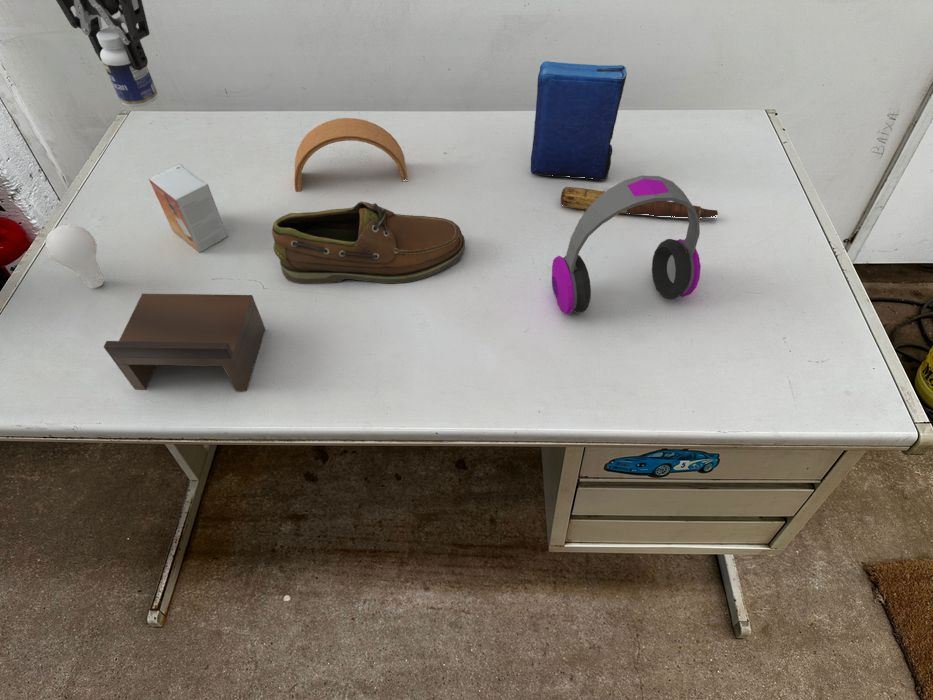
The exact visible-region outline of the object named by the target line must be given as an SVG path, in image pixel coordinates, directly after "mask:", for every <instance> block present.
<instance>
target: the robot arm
mask: <svg viewBox="0 0 933 700" xmlns="http://www.w3.org/2000/svg"><path fill="white" fill-rule="evenodd" d="M55 1H56V4H58V7H60V9H61V11H62V13H63V14H64V16H65V17H66V20H67V21H68V23H69V24H70V26H71V27H72V28H73V29H80V30H81V31H82V33H83V34H84V35H86V36H87V37H88V39H89V41H90V43H91V46H92V48H93V50H94V53H95V54H96V56H97V57H98V59H99V61H100V62H102V60H101V57H100V53H101V50H102V49H103V48H102V47H101V45H100V43H99V41H98V38H97V33H98V32H99V31H100V30H102V29H103V25H102V19H103V21H104V22H105V24H106V25H107V26H108V28H109V27H110V28H112V29H114V30H115V31H116V33H117V34H118V36H119V37H120V39H121V40H122V41H123V43H124V44H123V46H124V48H125V51H126V53H127V55H128V58H129V60H130V62H131V65H132V67H133V69H135V70H141V69H143V68H144V67H146V66H147V67H148V65H149V62H148V57H147V55H146V52H145V49H144V47H143V45H142V42H141V40H142V39H144V38H146V37H148V36H150V33H151V32H150V29H149V25H148V21H147V16H146V12H145V8H144V4H143V0H55ZM72 7H74V10H75V14H74V12H73V10H72V9H71V8H72ZM118 13H119V16H117V17H116V18H114V17H113V16H114V15H116V14H118ZM122 24H124V25H125V26H126V30H127V33H126V32H125V30H124V29H123V28H124V27H123V26H122ZM137 26H138V27H137Z"/></svg>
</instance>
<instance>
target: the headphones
mask: <svg viewBox="0 0 933 700" xmlns="http://www.w3.org/2000/svg"><path fill="white" fill-rule="evenodd" d="M654 201H669V202H677V203H680V204H684V205H685V206H686V207H687V209H688V218H689V219H688V226H687V230H686V236H685V238H684V239H683V238H679V239H673V238H667V239H664V240H663V241H661V242H660V243H659V244H658V246H657V247H656V248H655V250H654V251H653V255H652V259H651V260H652V261H651V275H652V281H653V284H654V287H655V289H656V290H657V292H658V293H659V294H660V295H661V296H662V297H663V298H666V299H668V300H673V299H676V298H677V299H678V298H679V297H680V298H686V297H688V296H690V295H692V294H693V293H694V291H696V289H697V288H698V285H699V282H700V279H701V267H702V266H701V261H700V254H699V253H698V250H697V248H696V247H697V244H698V240H699V238H700V235H701V234H700V233H701V232H700V231H701V230H700V229H701V228H700V220H699V217H698V215H697V212H696V210H695V208H694V207H693V203H692V202H691V201H690V198H688V196H687V195H686V194H685V191H683V189H682V188H680V187H679V186H678V185H677V184H676V183H675V182H674V181H672V180H670V179H669V178H665V177H662V176H660V175H639V176H635V177H631V178H627V179H624V180H622V181H620V182H619V183H617V184H615V185H613V186H612V187H610V188H608V189H606V190H605V192H604V193H603V194H602V195H601V196H600V197H599V198H597V199H596V200H595V201H594V202H593V203H592V204H591V205H590V206H589V208H588V209H587V210H586V209H585V212H584V213H583V214H582V215H581V217H580V218H579V219H578V222H577V224H576V226H575V228H574V230H573V232H572V234H571V237H570V240H569V243H568V247H567V250H566V254H565V256H561V255H557V256H555V257H554V258H553V260H552V264H551V287H552V293H553V295H554V298H555V300H556V303H557V306H558V308H559V309H560V311H561V312H562V313H563V314H564V315H570V314H572V312H574V313H577V314H582V313H584V312H586V311H587V309H589V306H590V303H591V297H592V296H591V295H592V288H591V280H590V275H589V271H588V268H587V265H586V263H585V261H584V260H583V258H582V257H581V255H580V251H581V250H582V249H583V247H584V245H585V243H586V242H587V240H588V238H589V237H590V236H591V235H592V234H593V233H594V232H595V231H597V230H598V229H599V228H600V227H601V226H602V225H603V224H605V223H607V222H608V221H610V220H611V219H613V218H614V217H616V216H617V215H620V214H619V213H621V212H623V211H626V210H628V209H630V208H633V207H635V206H637V205H641V204H645V203H650V202H654Z"/></svg>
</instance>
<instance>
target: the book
mask: <svg viewBox="0 0 933 700" xmlns="http://www.w3.org/2000/svg"><path fill="white" fill-rule="evenodd" d="M627 75H628V73H627V69H626V66H624V65H622V64H615V65H614V64H613V65H611V64H610V65H607V64H606V65H603V64H600V65H599V64H587V63H586V64H584V63H569V62H558V61H548V60H547V61H543V62H542V63H541V64H540V66H539V72H538V76H537V83H536V84H537V86H536V87H537V88H536V89H537V91H536V102H535V103H536V104H535V115H534V126H533V127H534V128H533V138H532V147H531V154H530V173H531V174H533V175H538V174H539V176H543V175H544V176H545V175H546V176H549V175H550V176H549V177H553V176H570V177H585V178H593V179H604V180H606V179H607V178H608V176H609V172H610V169H611V165H612V155H613V146H612V144H611V141H612V139H613V135H614V132H615V131H614V130H615V127H616V124H617V123H616V122H617V118H618V114H619V108H620V105H621V101H622V97H623V93H624V88H625V84H626V79H627ZM552 175H553V176H552ZM606 177H607V178H606ZM605 178H606V179H605ZM593 179H592V180H593Z"/></svg>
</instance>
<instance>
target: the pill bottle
mask: <svg viewBox="0 0 933 700" xmlns="http://www.w3.org/2000/svg"><path fill="white" fill-rule="evenodd" d="M123 29H124V30H125V32H126V33H127V32H128V29H127V28H124V27H123ZM97 38H98V41H99V43H100V45H101V47H102V48H103V49H102V50H101V53H100V57H101V60H102V61H101V62H102V64H103V66H104V69H105V71H106V74H107V75H108V77H109V80H110V82H111V84H112V86H113V88H114V91H115V93H116V95H117V97H118V100H119V101H120V103H121V104H122V105H123V106H125V107H129V108H141V107H142V108H143V107H146V106H148V105H151V104H152V103H154V102H155V101H156V100H157V99H158V96H159V95H158V91H157V88H156V85H155V83H154V81H153V77H152V75H151V72H150V70H149V67H148V65H147V66H146V67H144V68H143V69H141V70H135V69H133V67H132V65H131V62H130V60H129V58H128V55H127V53H126V51H125V48H124V46H123V44H124V43H123V41H122V40H121V39H120V37H119V36H118V34H117V33H116V31H115V30H114V29H112V28H110V27H109V26H108V27H106V28H105V27H104V28H101V29H100V31H99V32H98V33H97Z"/></svg>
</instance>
